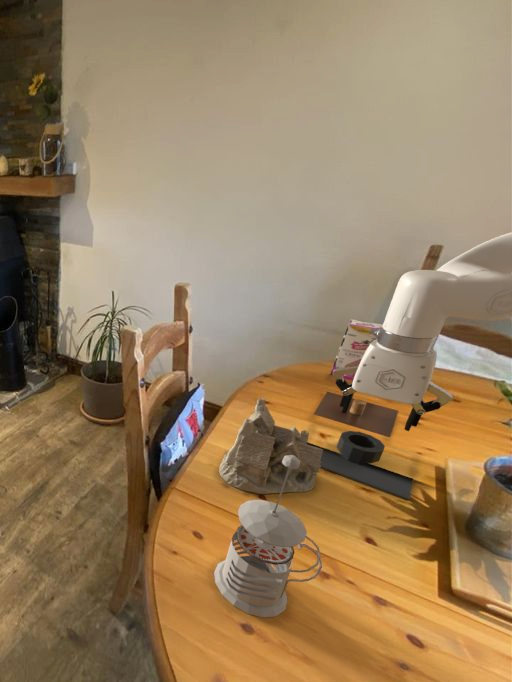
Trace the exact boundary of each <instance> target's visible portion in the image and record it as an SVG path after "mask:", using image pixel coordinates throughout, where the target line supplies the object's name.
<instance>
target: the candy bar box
mask: <svg viewBox="0 0 512 682" xmlns="http://www.w3.org/2000/svg"><path fill="white" fill-rule="evenodd" d="M382 326H383V323H382V324H380V323H375V322H369V321H363V320H357V319H353V318H352V319H350V320H349V323H348V324H347V327H346V329H345V332H344V335H343V337H342V340H341V343H340V346H339V347H338V351H337V353H336V357H335V359H334V362H333V365H332V368H331V370H330V373H329V376H332V377H334V376H333V371H334V369H338V368H346V367H353V366H359V364H360V362H361V360H362V357H363V356H364V354H365V352H366V350H367V348H368V347H369V345H370V344H371V342H373V341H374V340H377V339H376V337H374V336H372V335H369V333H370V330H371V328H373V329H380V327H381V328H382ZM354 377H355V374H351V375H343V378H344V380H349V381H353V380H354Z"/></svg>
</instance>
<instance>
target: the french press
mask: <svg viewBox="0 0 512 682" xmlns="http://www.w3.org/2000/svg"><path fill="white" fill-rule="evenodd" d="M282 463H283V464H284V465H285V466H286V467H289V468H288V471H287V474H286V477H285V480H284V483H283V486H282V489H281V492H280V493H279V495H278V497H277V501H276V502H273V501H270V500H269V501H268V500H263V499H251V500H250V499H249V500H246V501H245V502H243V503H241V504H240V506H239V508H238V510H237V515H238V520H239V522H240V523H241V525H239V526H238V527H237V528H236V531H235V532H234V533H233V534H232V537H231V539H230V544H229V546H228V551H227V553H226V558H225V559H223V560H222V561H221V562H219V563H217V565H216V567H215V569H214V571H213V575H214V583H215V585H216V587H217V588H218V591H219V592H220V594H221V595H222V597H224V598H225V599H226V600H227V601H228V602H229V603H230V604H231V605H232V606H234V607H235V608H237V609H239V610H240V611H242V612H243V613H246V614H247V615H251V616H256V617H259V618H262V619H263V618H273V617H278V616H280V615H281V613H283V612H285V611H286V608H287V604H288V601H289V600H288V596H287V592H286V589H287V586H288V584H289V583H291V582H296V583H297V582H299V583H302V582H309V581H311V580H313V579H315V578H317V576H319V575H320V572H321V571H322V568H323V562H322V559H321V558H322V555H321V550H320V547H319V545H317V543H316V542H315V540H313V539H311V538H310V537H308V535H307V533H308V531H307V529H306V526H305V523H304V522H303V520H301V518H299V516H298V515H297V514H295V512H292V511H291V510H290V509H288V508H286V507H285V506H283V505H281V504H279V503H280V501H281V497H282V494H283V493H282V492H283V489H284V486H285V483H286V480H287V477H288V474H289V471H290V468H292V469H297V468H299V465H300V460H299V459H298V458H297V457H296V456H294V455H287V456H285V457H284V458H283V461H282ZM305 540H308V541H310V542H311V543H312V545H314V547H315V548H316V550H315V549H314V548H312V547H311V546H310V545H308V544H306V543H303V542H305ZM235 541H236V542H235ZM237 545H239V546H237ZM235 546H236V547H235ZM294 547H297V548H298V550H299V551H301V550H302V548H303V547H306V548H308V549H309V550H310V551H312V553H313V554H314V555H315V556H316V558H317V560H316V562H315V563H314V564H312V565H311V566H310V567H308V568H307V569H302V570H298V569H296V570H295V569H293V565H294V563H292V562H293V560H294V556H295V548H294ZM239 550H241V551H239ZM245 554H248V555H245ZM240 555H241V556H240ZM318 565H319V567H318V568H317V570H316V572H315V574H313V575H312V576H310V577H309V578H304V579H303V578H302V579H296V578H294V579H293V578H289V576H290V573H306V572H310V571H312V570H314V568H316V567H317V566H318ZM273 567H274V568H273Z"/></svg>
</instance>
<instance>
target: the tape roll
mask: <svg viewBox="0 0 512 682" xmlns="http://www.w3.org/2000/svg"><path fill="white" fill-rule="evenodd" d="M335 447H336V449H337V450H338V452H337V453H338V454H339V455H340V456H341V457H343V458H344V459H346V460H348V461H350V462H353V463H356V464H359V465H367V466H371V465H373V463H377V462H380V460H381V457H382V455H383V452H384V450H385V447H386V445H384V443H383V442H382V441H381V440H380V439H378V438H377V437H375V436H373V435H372V434H369V433H365V432H361V431H354V430H346V431H344V432H341V434H340V436H339V439H338V442H337V444H336V446H335Z"/></svg>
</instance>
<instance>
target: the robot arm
mask: <svg viewBox="0 0 512 682" xmlns="http://www.w3.org/2000/svg"><path fill="white" fill-rule="evenodd" d="M510 273H512V231H509V232H507V233H505V234H502V235H498V236H496V237H493V238H491V239H489V240H486V241H483V242H482V243H480V244H478V245H475V246H474V247H472V248H470V249H469V250H466V251H464V252H463V253H461V254H459V255H458V256H455V257H454V258H452V259H450V260H449V261H447V262H446V263H444V264H443V265H441V266H440V267H439V268H437V269H435V270H434V269H416V270H415V269H414V270H410V271H407V272H405V273H403V274H402V275H401V277H400V278H399V280H398V282H397V285H396V287H395V290H394V292H393V295H392V299H391V301H390V304H389V306H388V310H387V311H386V315H385V318H384V320H383V323H382V325H383V326H382V328H381V327H380V329H373V328H371V330H370V333H369V335H372V336H374V337H376V339H377V340H374V341H373V342H371V344H370V345H369V347H368V348H367V350H366V352H365V354H364V356H363V357H362V360H361V362H360V364H359V366H353V367H346V368H338V369H334V371H333V376H332V377H333V379H334V381H335V386H337V388H338V389H339V390H340V391H341V395H342V396H343V397H342V400H341V403H340V407H343V410H342V413H344V414H345V413H346V412H347V410H348V408H349V406H350V403H351V400H352V398H353V397H354V394H355V393H356V392H357V393H360V394H363V395H367V396H372V397H374V398H375V397H376V398H379V399H383V400H387V401H391V402H395V403H398V404H399V403H400V404H405V405H411V407H412V408H411V411H410V413H409V415H408V416H407V417H408V418H407V420H406V422H405V425H404V429H403V430H405V431H406V432H410V430H411V428H412V427H415V428H417V426H418V424H419V422H420V420H421V417H422V416H423V415H425V414H426V413H429V412H433V411H437V410H439V409H441V408H442V407H443V406H446V405H448V404H449V403H450V402H452V401H453V400H454V395H453V394H452V393H451V392H449V391H447V390H445V389H444V388H443V387H442V386H441V387H440V386H439V385H438V384H436V383H434V382H433V381H431V380H432V377H433V374H434V371H435V367H436V362H437V355H438V354H437V351H436V350H435V349H434V348H435V345H436V343H437V341H438V338H439V336H440V334H441V332H442V329H443V327H444V324H445V323H446V320H447V319H448V318H458V319H465V320H472V321H479V322H494V321H495V322H497V321H504V320H507V319H510V318H512V275H510ZM351 374H355V377H354V380H352V382H351V383H349V382H347V381H346V379H344V378H343V375H351ZM427 391H428V392H430V394H432V395H434V396H435V397H437V398H435V399H432V400H429V401H424V398H425V395H426V393H427Z"/></svg>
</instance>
